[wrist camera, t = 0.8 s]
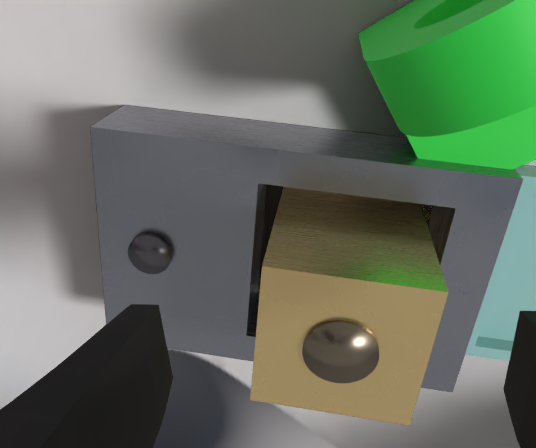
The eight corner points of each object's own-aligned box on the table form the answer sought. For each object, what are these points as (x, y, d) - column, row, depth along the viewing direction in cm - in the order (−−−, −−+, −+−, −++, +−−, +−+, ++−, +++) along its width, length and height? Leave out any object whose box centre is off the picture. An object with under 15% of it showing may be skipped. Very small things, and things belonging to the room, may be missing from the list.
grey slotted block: (439, 342, 23) (453, 397, 20) (133, 297, 24) (104, 343, 21) (497, 148, 19) (526, 183, 16) (124, 104, 20) (85, 129, 17)
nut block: (391, 296, 22) (410, 429, 16) (276, 280, 22) (249, 403, 16) (415, 189, 20) (449, 295, 13) (287, 173, 20) (260, 269, 14)
